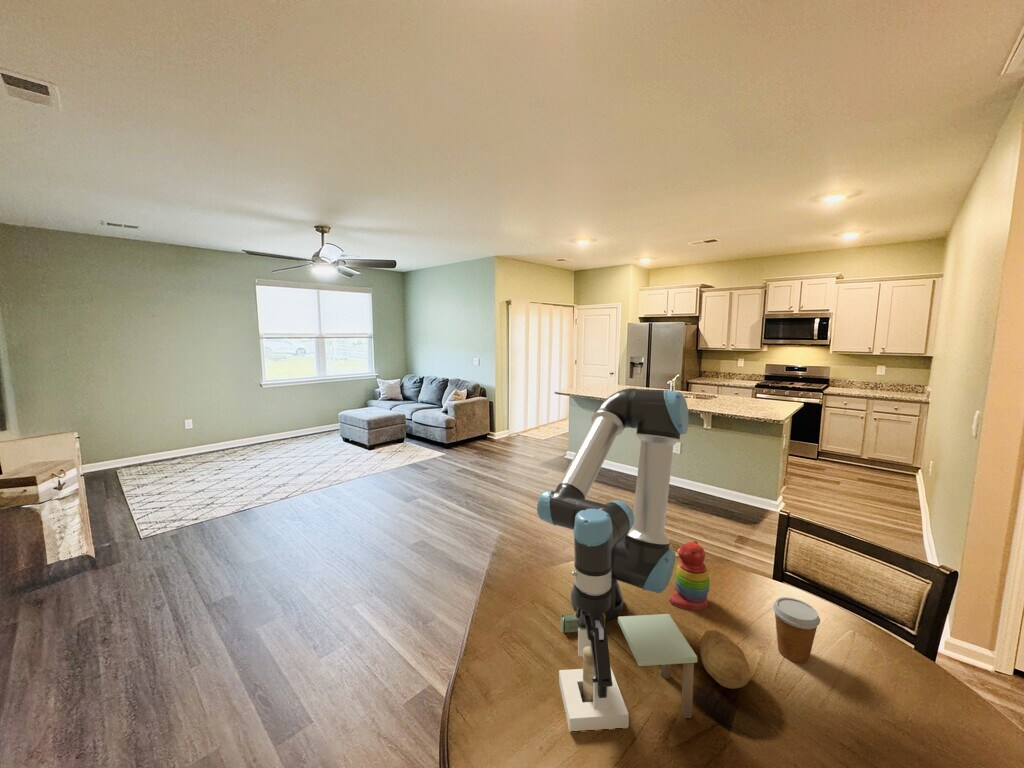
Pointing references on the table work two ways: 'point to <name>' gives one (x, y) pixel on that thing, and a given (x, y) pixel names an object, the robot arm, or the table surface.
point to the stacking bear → (691, 578)
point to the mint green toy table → (661, 649)
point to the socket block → (591, 704)
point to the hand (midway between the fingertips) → (591, 679)
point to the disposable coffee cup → (795, 628)
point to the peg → (588, 674)
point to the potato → (724, 660)
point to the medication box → (571, 622)
